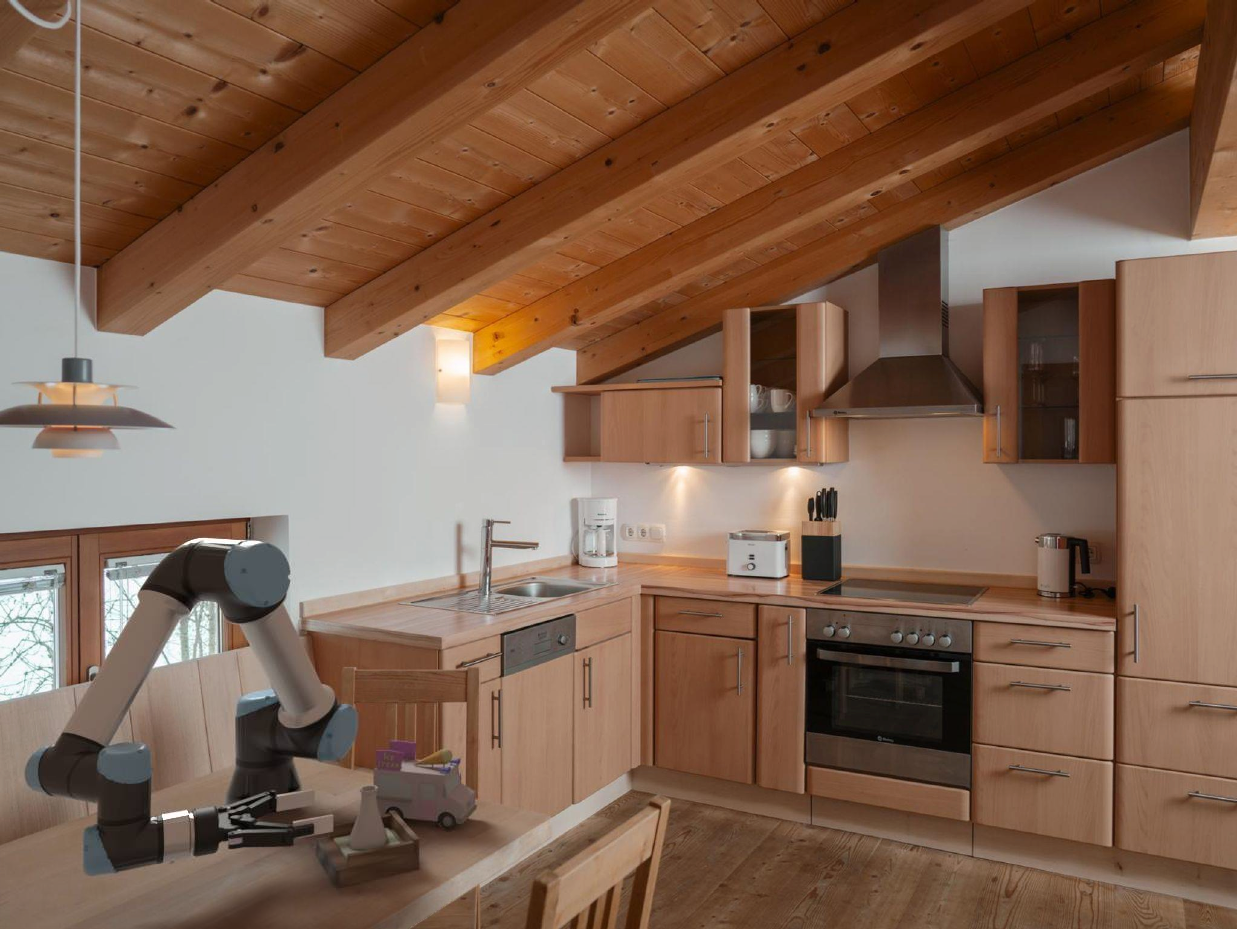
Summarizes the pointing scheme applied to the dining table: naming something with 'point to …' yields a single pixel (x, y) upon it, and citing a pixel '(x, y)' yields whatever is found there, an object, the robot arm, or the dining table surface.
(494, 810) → the dining table surface
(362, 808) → the flask
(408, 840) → the dock
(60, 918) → the dining table surface
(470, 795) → the toy vehicle
